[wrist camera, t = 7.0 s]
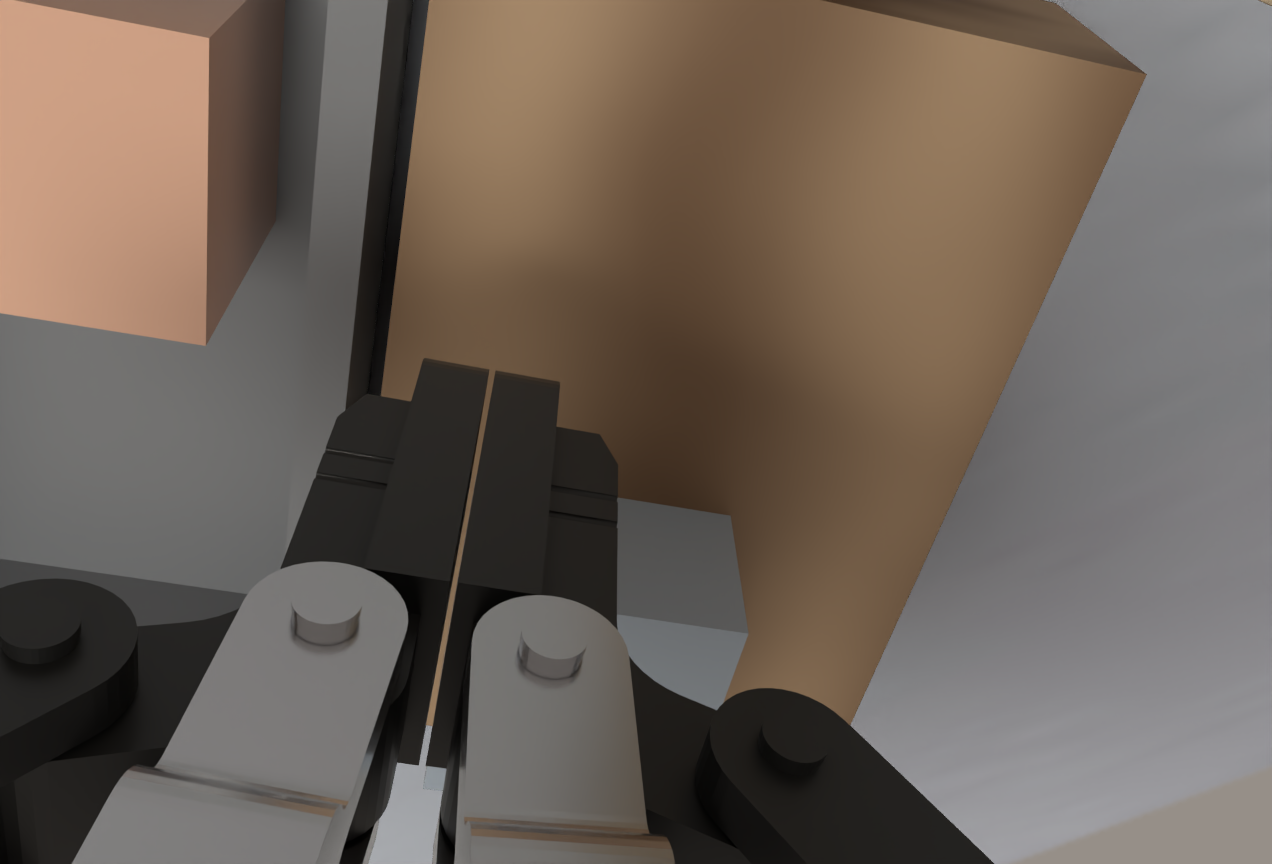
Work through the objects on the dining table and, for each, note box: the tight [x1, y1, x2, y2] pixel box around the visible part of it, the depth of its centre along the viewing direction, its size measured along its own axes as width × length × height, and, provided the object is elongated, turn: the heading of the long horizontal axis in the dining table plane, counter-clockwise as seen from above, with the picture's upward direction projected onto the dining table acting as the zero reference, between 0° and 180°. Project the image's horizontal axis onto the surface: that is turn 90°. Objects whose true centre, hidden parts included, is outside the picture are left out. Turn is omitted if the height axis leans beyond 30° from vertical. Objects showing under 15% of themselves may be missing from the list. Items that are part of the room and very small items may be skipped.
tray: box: [0, 0, 413, 626], centre depth 21 cm, size 8×17×4 cm, turn 168°
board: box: [381, 0, 1147, 726], centre depth 22 cm, size 10×15×4 cm, turn 167°
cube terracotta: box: [0, 0, 285, 346], centre depth 18 cm, size 4×4×3 cm
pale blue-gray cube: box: [423, 475, 749, 791], centre depth 21 cm, size 4×4×3 cm
